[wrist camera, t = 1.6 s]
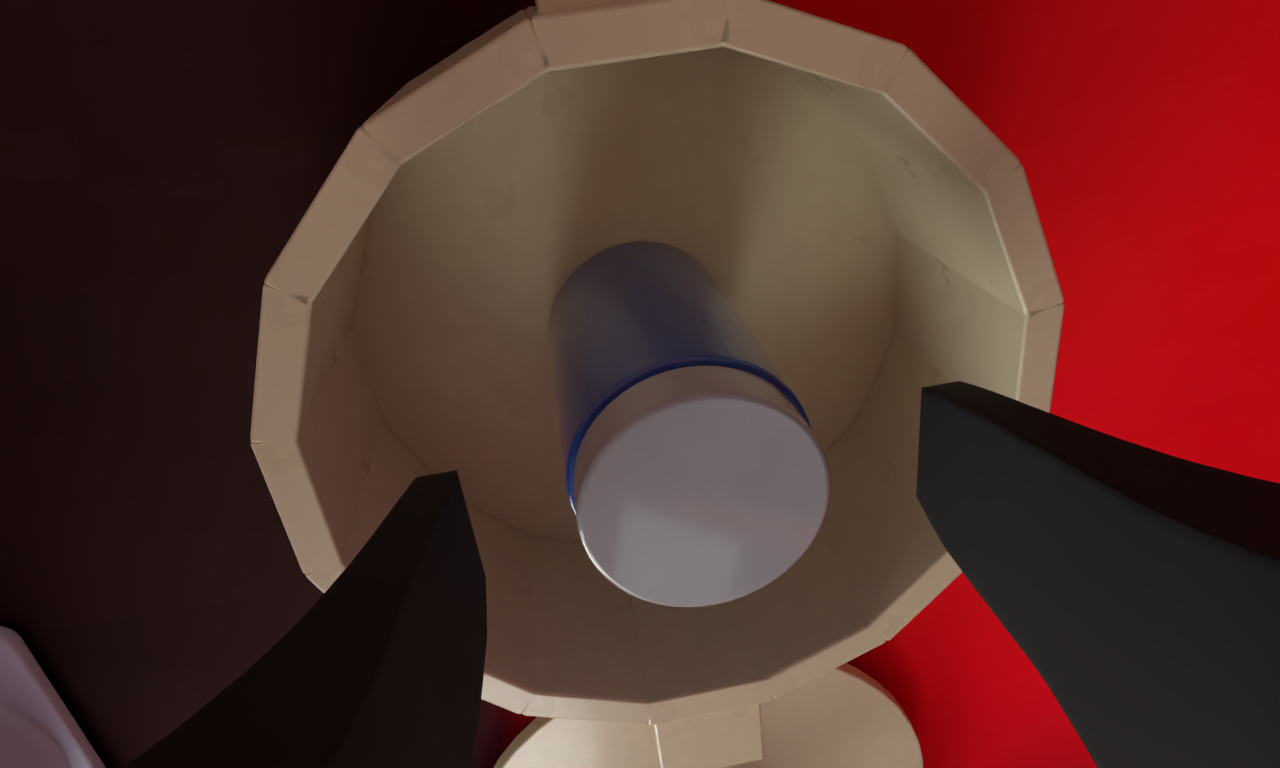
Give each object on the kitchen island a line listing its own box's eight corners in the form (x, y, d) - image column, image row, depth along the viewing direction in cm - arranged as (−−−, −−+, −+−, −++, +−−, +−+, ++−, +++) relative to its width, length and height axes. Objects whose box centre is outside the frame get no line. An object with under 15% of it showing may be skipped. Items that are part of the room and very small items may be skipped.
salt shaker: (565, 419, 19) (591, 636, 12) (534, 256, 17) (548, 414, 11) (732, 390, 19) (839, 587, 13) (719, 226, 17) (838, 364, 11)
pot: (440, 669, 22) (419, 861, 17) (179, -126, 13) (-10, -189, 9) (902, 578, 23) (1007, 737, 18) (936, -217, 14) (1152, -322, 10)
